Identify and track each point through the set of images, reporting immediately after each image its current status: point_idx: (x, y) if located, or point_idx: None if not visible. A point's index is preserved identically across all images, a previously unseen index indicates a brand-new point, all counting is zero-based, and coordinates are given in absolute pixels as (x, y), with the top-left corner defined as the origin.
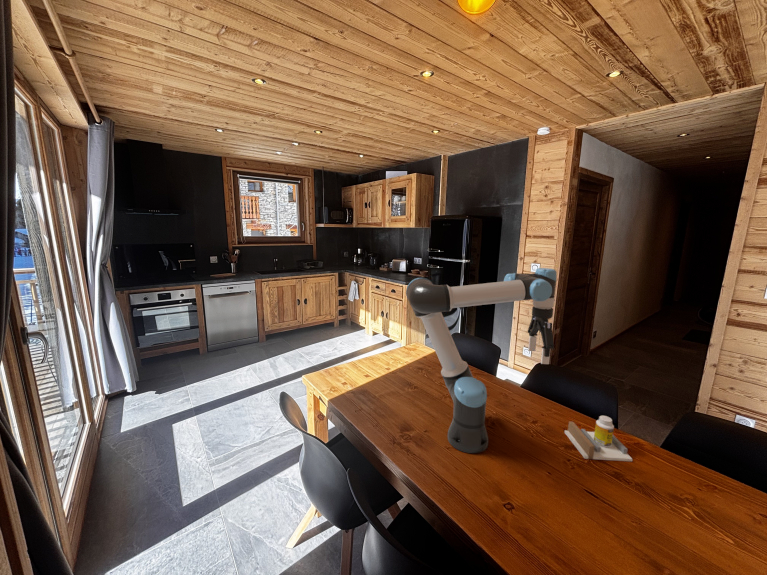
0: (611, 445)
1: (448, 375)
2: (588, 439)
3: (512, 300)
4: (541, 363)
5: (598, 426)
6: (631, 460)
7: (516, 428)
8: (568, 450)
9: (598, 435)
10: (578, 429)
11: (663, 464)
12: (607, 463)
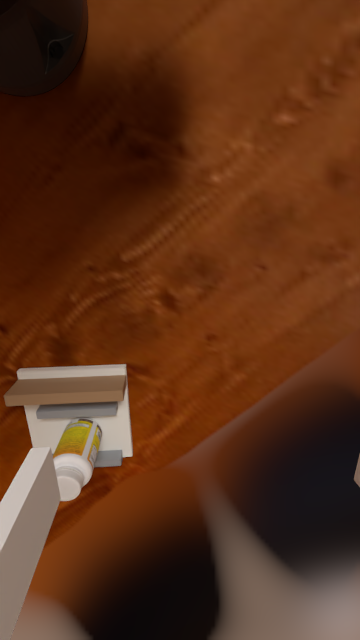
0: None
1: None
2: (36, 404)
3: None
4: (36, 448)
5: (61, 452)
6: None
7: (124, 231)
8: (44, 343)
9: (66, 435)
10: (82, 399)
11: None
12: (16, 408)
